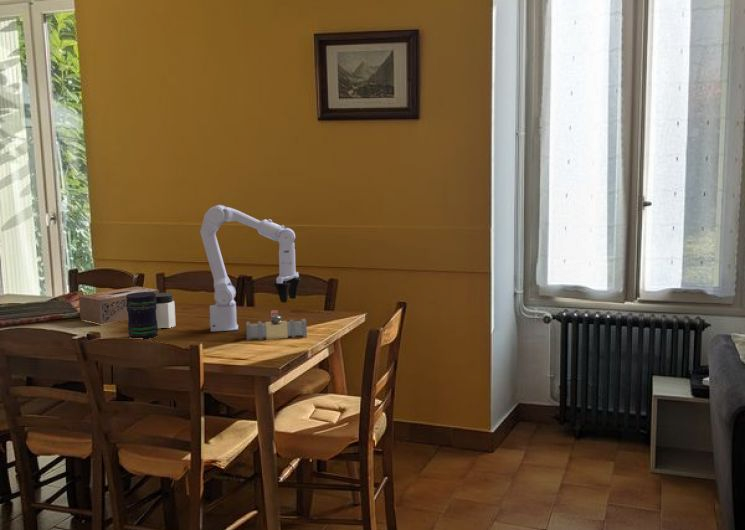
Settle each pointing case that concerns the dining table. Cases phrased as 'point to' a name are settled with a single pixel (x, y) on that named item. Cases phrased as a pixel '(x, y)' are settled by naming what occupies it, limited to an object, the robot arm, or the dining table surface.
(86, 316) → the tissue box cover
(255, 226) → the robot arm
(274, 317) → the lever
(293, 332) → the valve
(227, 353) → the dining table surface
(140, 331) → the storage jar
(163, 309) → the jar
